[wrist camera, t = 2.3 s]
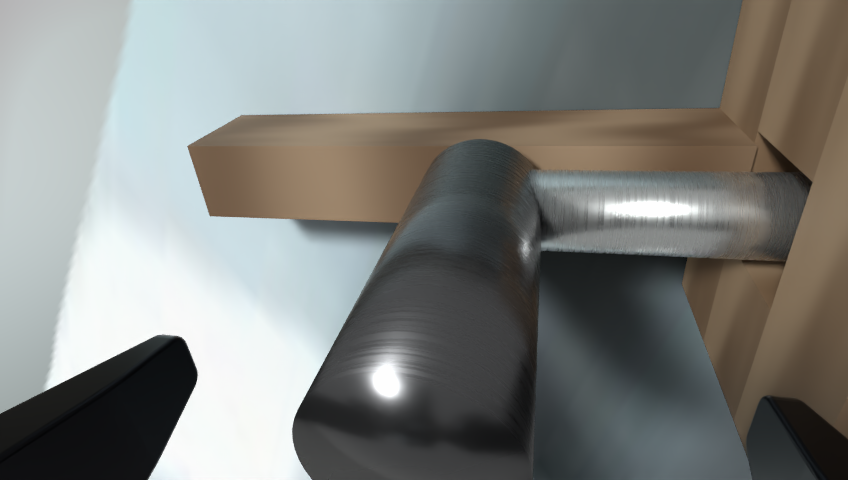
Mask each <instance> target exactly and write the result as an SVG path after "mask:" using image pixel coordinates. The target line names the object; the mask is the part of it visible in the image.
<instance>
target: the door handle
mask: <svg viewBox="0 0 848 480" xmlns="http://www.w3.org/2000/svg"><path fill="white" fill-rule="evenodd" d="M812 183H813V182H812V181H811V180H810V179H809V178H808V177H807V176H806V175H805V174H803V173H802V172H726V171H626V170H535V168H534V167H533V166H532V164H531V163H530V162H529V161H528V159H527V158H526V157H525V156H523V155H522V154H521V153H520V152H519V151H517V150H515V149H514V148H512V147H510V146H508V145H506V144H504V143H501V142H498V141H493V140H487V139H473V140H467V141H463V142H460V143H457V144H454V145H452V146H450V147H448V148H447V149H445V150H444V151H442V152H441V153H440V154H439V155H438V156H437V157H436V158H435V159H434V160H433V162H432V163H431V165H430V166H429V168H428V170H427V171H426V173H425V175H424V177H423V179H422V181H421V183H420V184H419V186H418V188H417V190H416V192H415V194H414V196H413V197H412V199H411V201H410V203H409V205H408V207H407V209H406V210H405V212H404V214H403V216H402V218H401V220H400V222H399V223H398V225H397V227H396V229H395V231H394V233H393V235H392V236H391V238H390V240H389V242H388V244H387V246H386V247H385V249H384V251H383V253H382V255H381V257H380V259H379V260H378V262H377V264H376V266H375V268H374V270H373V272H372V273H371V275H370V277H369V279H368V281H367V283H366V285H365V286H364V288H363V290H362V292H361V294H360V296H359V298H358V299H357V301H356V303H355V305H354V307H353V309H352V311H351V312H350V314H349V316H348V318H347V320H346V322H345V323H344V325H343V327H342V329H341V331H340V333H339V335H338V336H337V338H336V340H335V342H334V344H333V346H332V348H331V349H330V351H329V353H328V355H327V357H326V359H325V361H324V362H323V364H322V366H321V368H320V370H319V372H318V374H317V375H316V377H315V379H314V381H313V383H312V385H311V387H310V388H309V390H308V392H307V394H306V396H305V398H304V400H303V401H302V403H301V405H300V407H299V409H298V411H297V413H296V416H295V418H294V422H293V428H292V433H293V443H294V447H295V451H296V453H297V456H298V458H299V460H300V462H301V464H302V466H303V467H304V469H305V471H306V472H307V473H308V475H309V476H310V477H311V479H312V480H533V455H534V427H535V398H536V370H537V342H538V313H539V285H540V256H541V251H561V252H584V253H606V254H629V255H651V256H673V257H696V258H718V259H741V260H763V261H785V262H786V261H787V258H788V255H789V252H790V249H791V246H792V243H793V240H794V237H795V234H796V231H797V228H798V225H799V222H800V219H801V216H802V213H803V210H804V207H805V204H806V201H807V198H808V195H809V192H810V189H811V186H812Z"/></svg>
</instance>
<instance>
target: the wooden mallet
mask: <svg viewBox="0 0 848 480" xmlns="http://www.w3.org/2000/svg"><path fill="white" fill-rule="evenodd" d="M473 139H487V140H493V141H498V142H501V143H504V144H506V145H508V146H510V147H512V148H514V149H515V150H517V151H519V152H520V153H521V154H522V155H523V156H525V157H526V158H527V159H528V161H529V162H530V163H531V164H532V166H533V167H534V168H535V170H626V171H726V172H802V173H803V174H805V175H806V176H807V177H808V178H809V179H810V180H811V181H812V182H813V183H812V186H811V189H810V192H809V195H808V198H807V201H806V204H805V207H804V210H803V213H802V216H801V219H800V222H799V225H798V228H797V231H796V234H795V237H794V240H793V243H792V246H791V249H790V252H789V255H788V258H787V261H786V262H785V261H763V260H741V259H718V258H696V257H688V258H687V262H686V267H685V272H684V276H683V281H682V286H683V288H684V291H685V294H686V296H687V299H688V302H689V304H690V307H691V309H692V312H693V315H694V317H695V320H696V323H697V325H698V328H699V331H700V333H701V336H702V339H703V341H704V344H705V347H706V349H707V352H708V354H709V357H710V360H711V362H712V365H713V368H714V370H715V373H716V376H717V378H718V381H719V384H720V386H721V389H722V391H723V394H724V397H725V399H726V402H727V405H728V407H729V410H730V413H731V415H732V418H733V421H734V423H735V426H736V429H737V431H738V434H739V436H740V439H741V442H742V444H743V447H744V450H745V452H746V455H747V450H746V438H747V433H748V430H749V428H750V425H751V422H752V419H753V416H754V414H755V411H756V408H757V405H758V403H759V401H760V399H761V398H762V397H763V396H766V395H773V396H783V397H793V398H797V399H799V400H801V401H803V402H804V403H806V404H807V405H808V406H809V407H811V408H812V409H813V410H814V411H815V412H817V413H818V414H819V415H820V416H821V417H823V418H824V419H825V420H826V421H827V422H829V423H830V424H831V425H832V426H833V427H835V428H836V429H837V430H838V431H839V432H841V433H842V434H843V435H844V436H846V437H847V438H848V0H743V2H742V7H741V11H740V16H739V21H738V25H737V30H736V35H735V39H734V44H733V48H732V53H731V58H730V62H729V67H728V72H727V76H726V81H725V86H724V90H723V95H722V100H721V104H720V108H696V109H630V110H564V111H498V112H432V113H366V114H300V115H241V116H240V117H238V118H236V119H234V120H233V121H231V122H229V123H227V124H225V125H224V126H222V127H220V128H218V129H217V130H215V131H213V132H211V133H210V134H208V135H206V136H204V137H203V138H201V139H199V140H197V141H196V142H194V143H192V144H190V145H188V150H189V153H190V156H191V159H192V162H193V165H194V168H195V171H196V174H197V177H198V181H199V184H200V187H201V190H202V193H203V196H204V199H205V202H206V205H207V209H208V212H209V215H210V216H221V217H250V218H279V219H307V220H336V221H365V222H394V223H399V222H400V220H401V218H402V216H403V214H404V212H405V210H406V209H407V207H408V205H409V203H410V201H411V199H412V197H413V196H414V194H415V192H416V190H417V188H418V186H419V184H420V183H421V181H422V179H423V177H424V175H425V173H426V171H427V170H428V168H429V166H430V165H431V163H432V162H433V160H434V159H435V158H436V157H437V156H438V155H439V154H440V153H441V152H442V151H444V150H445V149H447V148H448V147H450V146H452V145H454V144H457V143H460V142H463V141H467V140H473ZM747 458H748V456H747Z"/></svg>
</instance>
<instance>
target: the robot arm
mask: <svg viewBox="0 0 848 480" xmlns="http://www.w3.org/2000/svg"><path fill="white" fill-rule="evenodd" d="M197 376H198V373H197V368H196V366H195V363H194V361H193V358H192V356H191V353H190V351H189V349H188V346H187V344H186V342H185V340H184V339H183V338H182V337H179V336H171V335H157V336H155V337H153V338H151V339H149V340H147V341H145V342H143V343H141V344H139V345H137V346H135V347H133V348H131V349H129V350H127V351H125V352H123V353H121V354H119V355H117V356H115V357H113V358H111V359H109V360H107V361H105V362H103V363H101V364H99V365H97V366H95V367H93V368H91V369H89V370H87V371H85V372H83V373H81V374H79V375H77V376H75V377H73V378H71V379H69V380H67V381H65V382H63V383H61V384H59V385H57V386H55V387H53V388H51V389H49V390H47V391H45V392H43V393H41V394H39V395H37V396H35V397H33V398H31V399H29V400H27V401H25V402H23V403H21V404H19V405H17V406H15V407H13V408H11V409H9V410H7V411H5V412H3V413H1V414H0V480H148V479H149V477H150V475H151V473H152V472H153V470H154V468H155V466H156V465H157V463H158V461H159V459H160V457H161V455H162V453H163V451H164V449H165V447H166V445H167V443H168V441H169V439H170V437H171V435H172V433H173V430H174V428H175V426H176V424H177V422H178V420H179V418H180V416H181V414H182V412H183V410H184V408H185V406H186V404H187V402H188V400H189V398H190V396H191V393H192V391H193V389H194V387H195V385H196V382H197ZM746 450H747V456H748V461H749V465H750V470H751V475H752V479H753V480H848V438H847V437H846V436H844V435H843V434H842V433H841V432H839V431H838V430H837V429H836V428H835V427H833V426H832V425H831V424H830V423H829V422H827V421H826V420H825V419H824V418H823V417H821V416H820V415H819V414H818V413H817V412H815V411H814V410H813V409H812V408H811V407H809V406H808V405H807V404H806V403H804V402H803V401H801V400H799V399H797V398H793V397H783V396H773V395H766V396H763V397H762V398H761V399H760V401H759V403H758V405H757V408H756V411H755V414H754V416H753V419H752V422H751V425H750V428H749V430H748V433H747V438H746Z"/></svg>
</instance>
